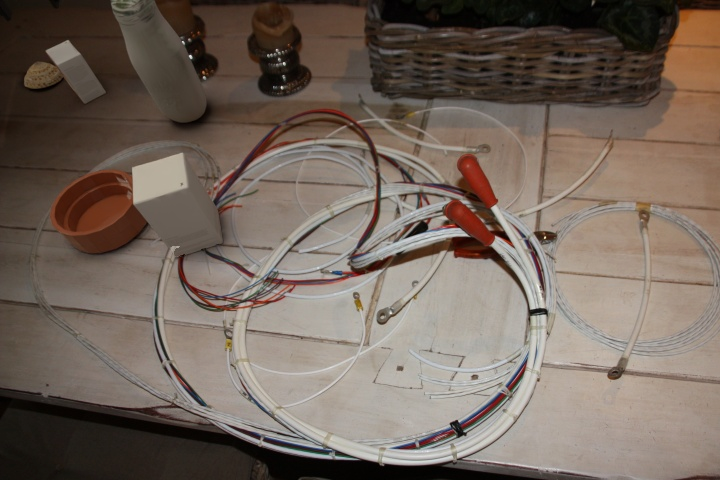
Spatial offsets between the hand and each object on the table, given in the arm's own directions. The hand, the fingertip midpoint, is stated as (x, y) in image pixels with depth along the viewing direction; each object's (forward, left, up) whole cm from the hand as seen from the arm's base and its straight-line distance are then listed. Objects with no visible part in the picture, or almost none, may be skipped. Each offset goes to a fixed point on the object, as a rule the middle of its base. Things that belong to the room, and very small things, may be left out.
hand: (33, 11), depth 111 cm
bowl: (+6, -44, -20) cm, 49 cm away
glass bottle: (+23, -19, -20) cm, 36 cm away
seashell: (-11, +9, -20) cm, 25 cm away
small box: (0, 0, -20) cm, 20 cm away
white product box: (+22, -53, -20) cm, 61 cm away
